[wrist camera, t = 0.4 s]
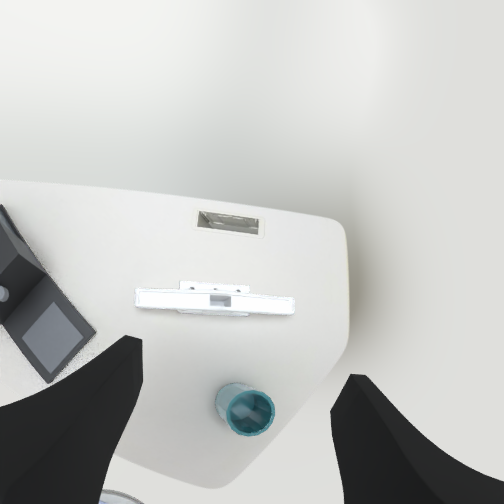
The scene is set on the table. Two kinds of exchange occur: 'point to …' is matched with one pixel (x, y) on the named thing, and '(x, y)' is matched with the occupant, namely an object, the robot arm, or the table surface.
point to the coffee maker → (36, 307)
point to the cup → (245, 409)
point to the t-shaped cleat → (213, 300)
